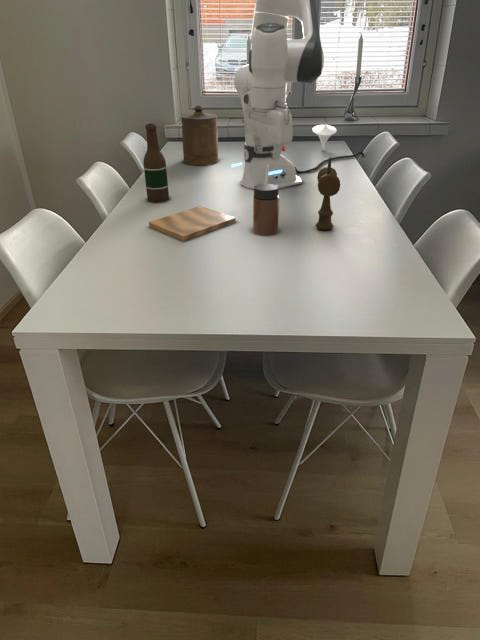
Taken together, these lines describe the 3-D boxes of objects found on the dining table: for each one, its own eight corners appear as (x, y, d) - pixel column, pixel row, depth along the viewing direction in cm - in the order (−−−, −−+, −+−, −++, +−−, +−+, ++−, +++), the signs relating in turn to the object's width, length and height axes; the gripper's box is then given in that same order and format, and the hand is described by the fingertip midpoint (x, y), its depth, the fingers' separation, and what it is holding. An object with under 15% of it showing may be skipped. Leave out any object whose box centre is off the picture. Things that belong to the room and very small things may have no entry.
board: (200, 210, 156) (200, 205, 155) (235, 222, 146) (235, 217, 145) (149, 226, 144) (148, 222, 143) (184, 241, 134) (183, 236, 133)
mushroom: (336, 153, 218) (339, 125, 212) (312, 153, 218) (314, 125, 212) (333, 148, 227) (335, 120, 221) (309, 148, 227) (311, 121, 221)
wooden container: (225, 159, 212) (223, 104, 200) (205, 167, 201) (202, 109, 189) (197, 155, 218) (194, 102, 207) (176, 162, 208) (172, 106, 196)
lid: (271, 190, 139) (271, 182, 137) (282, 197, 133) (282, 188, 132) (249, 194, 136) (249, 185, 135) (260, 200, 131) (260, 192, 130)
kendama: (314, 234, 137) (319, 161, 127) (313, 222, 146) (317, 152, 135) (335, 234, 137) (342, 161, 126) (333, 222, 145) (339, 153, 135)
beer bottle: (165, 203, 162) (158, 126, 149) (143, 202, 163) (134, 126, 151) (172, 196, 168) (166, 122, 156) (151, 195, 170) (143, 121, 157)
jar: (270, 224, 144) (271, 184, 138) (282, 232, 139) (284, 190, 132) (248, 228, 142) (248, 187, 135) (260, 237, 136) (260, 194, 130)
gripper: (300, 103, 115) (297, 163, 122) (260, 94, 131) (259, 147, 138) (277, 105, 113) (275, 166, 120) (239, 95, 129) (239, 149, 136)
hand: (266, 156), depth 129 cm, fingers open, 8 cm apart
